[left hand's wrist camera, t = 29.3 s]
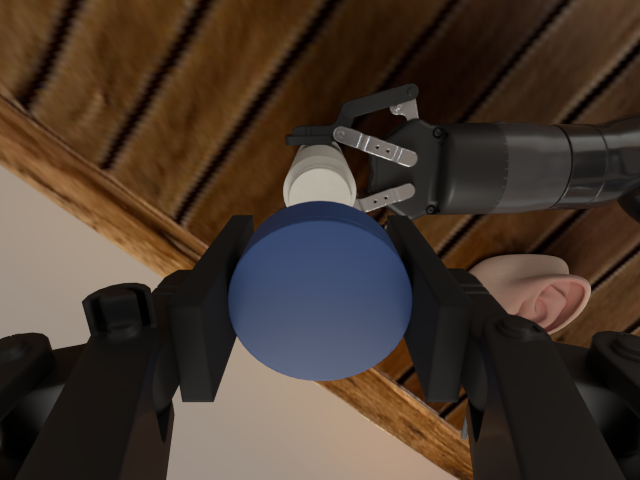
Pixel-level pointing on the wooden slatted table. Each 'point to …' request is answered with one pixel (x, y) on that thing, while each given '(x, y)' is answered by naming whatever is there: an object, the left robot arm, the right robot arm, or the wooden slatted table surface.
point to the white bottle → (319, 176)
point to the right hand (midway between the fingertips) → (288, 173)
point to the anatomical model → (535, 288)
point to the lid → (320, 292)
